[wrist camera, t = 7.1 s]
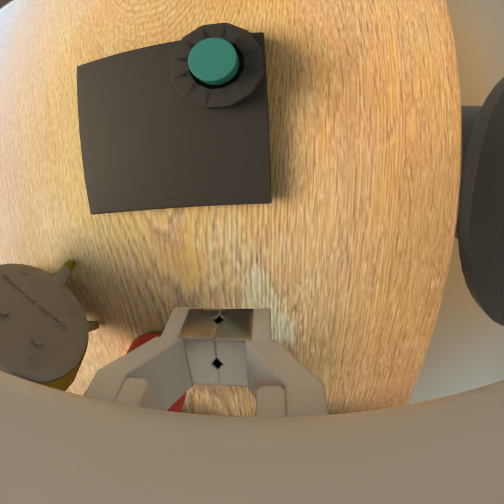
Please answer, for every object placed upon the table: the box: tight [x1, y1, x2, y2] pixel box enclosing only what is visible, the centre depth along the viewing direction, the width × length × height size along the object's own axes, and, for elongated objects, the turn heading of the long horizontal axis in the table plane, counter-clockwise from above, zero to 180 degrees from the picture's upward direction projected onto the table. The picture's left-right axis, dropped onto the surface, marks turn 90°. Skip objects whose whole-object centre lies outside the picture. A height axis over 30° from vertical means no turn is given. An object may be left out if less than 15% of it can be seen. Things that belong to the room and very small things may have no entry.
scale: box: [77, 23, 272, 214], centre depth 19 cm, size 14×12×3 cm
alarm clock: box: [0, 260, 99, 391], centre depth 19 cm, size 12×7×15 cm, turn 54°
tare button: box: [188, 37, 239, 85], centre depth 15 cm, size 3×3×2 cm
